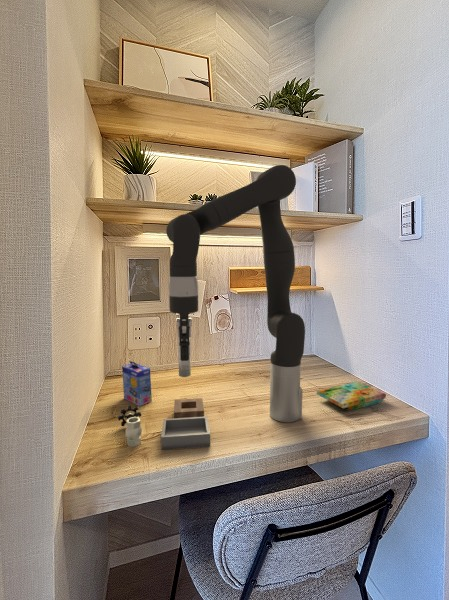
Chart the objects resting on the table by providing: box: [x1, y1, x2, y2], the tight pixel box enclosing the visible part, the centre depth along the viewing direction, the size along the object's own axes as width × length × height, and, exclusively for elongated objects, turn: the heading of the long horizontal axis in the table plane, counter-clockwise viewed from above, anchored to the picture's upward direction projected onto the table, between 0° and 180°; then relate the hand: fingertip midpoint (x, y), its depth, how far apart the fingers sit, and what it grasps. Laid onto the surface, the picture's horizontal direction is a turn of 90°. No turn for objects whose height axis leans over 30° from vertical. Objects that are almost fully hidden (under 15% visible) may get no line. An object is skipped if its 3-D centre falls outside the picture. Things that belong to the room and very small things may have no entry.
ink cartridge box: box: [121, 360, 153, 407], centre depth 108 cm, size 10×6×14 cm, turn 51°
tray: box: [160, 415, 211, 451], centre depth 84 cm, size 13×10×4 cm
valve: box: [117, 404, 143, 448], centre depth 85 cm, size 7×7×12 cm
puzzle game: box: [316, 381, 387, 412], centre depth 107 cm, size 12×5×20 cm
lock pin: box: [177, 337, 192, 378], centre depth 82 cm, size 3×3×10 cm
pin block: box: [173, 397, 205, 419], centre depth 96 cm, size 9×9×4 cm
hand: (184, 358), depth 82 cm, fingers closed on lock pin, 3 cm apart
